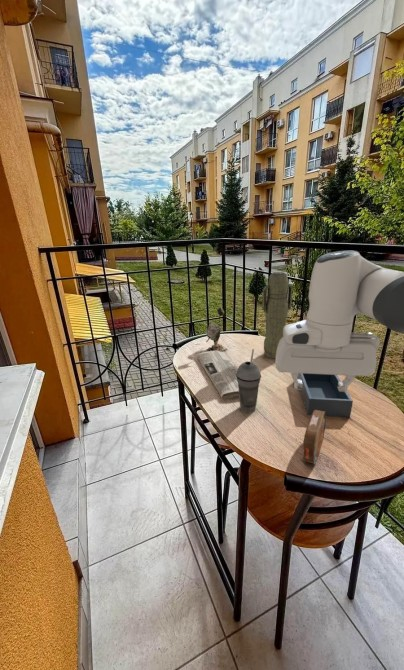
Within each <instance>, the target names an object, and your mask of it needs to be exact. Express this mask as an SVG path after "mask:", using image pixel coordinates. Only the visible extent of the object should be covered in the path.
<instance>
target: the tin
mask: <svg viewBox="0 0 404 670" xmlns="http://www.w3.org/2000/svg"><path fill="white" fill-rule="evenodd" d="M326 421H327V416H326V412H325V411H319V410H314V411H313V413H312V415H310V419H309V421H308V423H307V425H306V429H305V433H304V436H303V445H302V448H303V456H302V459H303V461H304V462H307V463H310V464H313V465H316V464H317V462H318V459H319V455H320V452H321V448H322V446H323V441H324V438H325V432H326Z"/></svg>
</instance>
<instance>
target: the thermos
mask: <svg viewBox="0 0 404 670" xmlns="http://www.w3.org/2000/svg"><path fill="white" fill-rule="evenodd" d="M293 290H294V289H293V286H292V284H290V283H289V279H288V274H287V273H285V272H281V271H278V272H276V271H275V272H272V273H270V275H269V278H268V280H267V285H265V286H264V287H263V288H262V301H261V310H262V311H263V312H264V313H265V315H264V316H265V338H264V340H263V356H264V357H265V358H266V359H268V360H274V361H275V358H276V352H277V347H278V343H279V341H280V339H281V338H282V337H284V335H283V328H284V326H286V325H287V318H288V315H289V311H290V310H291V309H292V302H293Z"/></svg>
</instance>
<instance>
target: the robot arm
mask: <svg viewBox="0 0 404 670" xmlns="http://www.w3.org/2000/svg"><path fill="white" fill-rule="evenodd" d="M308 302H309V307H308V311H307V313H306V317H305V319H303V320H300V321H297V322H293V323H290V324H286V326H284V328H283V335H284V337H282V338H281V339H280V341H279V343H278V347H277V352H276V358H275V360H274V365H275V369H276V370H277V371H278V372H279V373H284V374H285V373H287V374H288V373H289V374H290V375H291V378H292V379H293V382H294V383H293V385H294V386H293V387H294V390H299V391H300V390H302V385H303V383H302V380H298V379H297V377H298V373H307V374H330V375H337V376H345V377H344V379H343V380H342V381H341V382H338V390H339V392H348V388H349V386H350V385H351V384H352V383H353V382H354V381H355V379H356V376H357V377H371V376H372V375H373V374H375V372H376V368H377V352H378V350H379V348H380V344H381V343H380V338H379V336H377V335H376V334H374V333H372V332H352V330H353V325H354V318H355V316H356V315H364V316H366V317H368V318H370V319H372V320H374V321H376V322H378V323H380V324H381V325H383V326H384V327H385V328H388V329H389V330H391V331H393V332H395V333H399V334H404V271H400V270H395V269H392V268H388V267H387V268H386V267H383V266H381V265H378V264H376V263H373V262H371V261H369V260H368V259H366V258H364V257H363V256H362V255H361V254H360V252H359V251H357V250H351V249H350V250H348V249H347V250H337V251H331V252H328V253H325V254H323V255H320V257H318V258H317V260H316V261H315V263H314V265H313V268H312V272H311V277H310V282H309V289H308Z"/></svg>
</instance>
